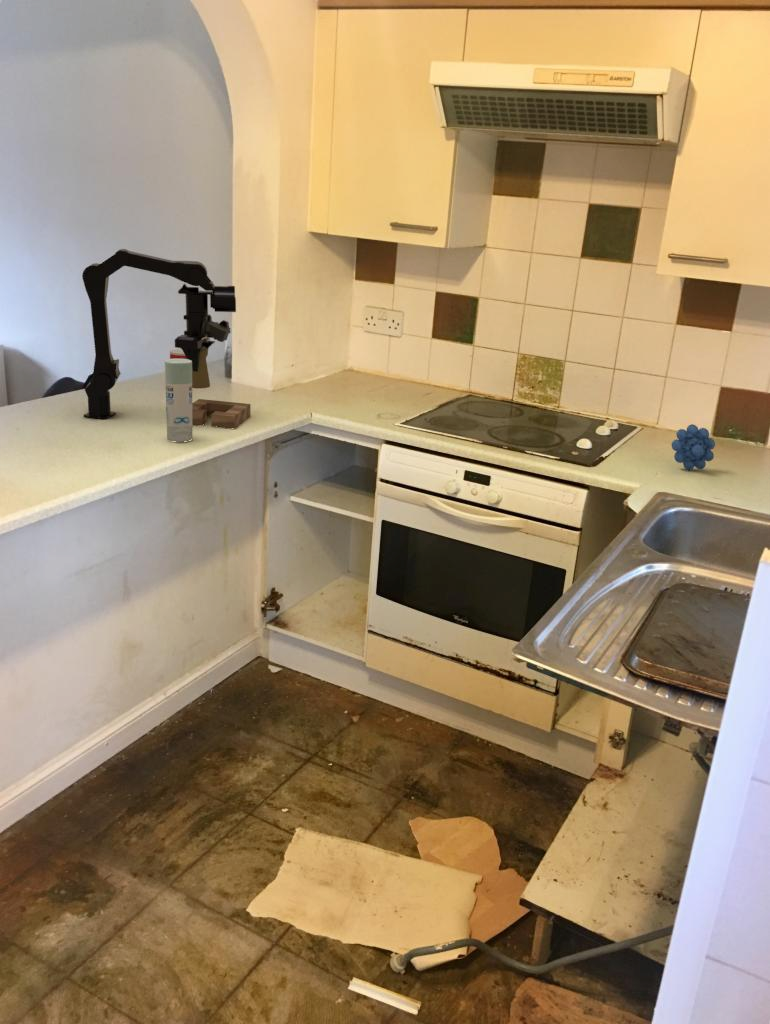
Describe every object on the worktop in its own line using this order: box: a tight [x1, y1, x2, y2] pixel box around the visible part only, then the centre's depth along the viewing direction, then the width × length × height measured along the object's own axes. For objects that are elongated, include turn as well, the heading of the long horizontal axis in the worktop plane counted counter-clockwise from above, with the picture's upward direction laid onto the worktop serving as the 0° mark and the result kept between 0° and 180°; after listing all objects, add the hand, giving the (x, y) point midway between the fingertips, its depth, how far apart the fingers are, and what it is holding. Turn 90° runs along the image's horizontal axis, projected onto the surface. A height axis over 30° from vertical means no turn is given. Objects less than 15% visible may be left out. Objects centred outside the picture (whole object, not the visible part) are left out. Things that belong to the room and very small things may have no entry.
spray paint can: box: [164, 358, 193, 442], centre depth 216 cm, size 6×6×20 cm
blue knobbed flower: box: [670, 423, 716, 471], centre depth 221 cm, size 12×7×12 cm, turn 95°
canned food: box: [169, 348, 187, 359], centre depth 274 cm, size 8×8×11 cm
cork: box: [192, 346, 211, 389], centre depth 236 cm, size 6×6×11 cm
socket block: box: [192, 398, 251, 429], centre depth 239 cm, size 15×15×4 cm
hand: (198, 369), depth 236 cm, fingers closed on cork, 4 cm apart
